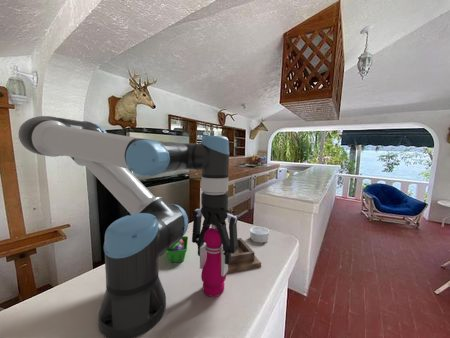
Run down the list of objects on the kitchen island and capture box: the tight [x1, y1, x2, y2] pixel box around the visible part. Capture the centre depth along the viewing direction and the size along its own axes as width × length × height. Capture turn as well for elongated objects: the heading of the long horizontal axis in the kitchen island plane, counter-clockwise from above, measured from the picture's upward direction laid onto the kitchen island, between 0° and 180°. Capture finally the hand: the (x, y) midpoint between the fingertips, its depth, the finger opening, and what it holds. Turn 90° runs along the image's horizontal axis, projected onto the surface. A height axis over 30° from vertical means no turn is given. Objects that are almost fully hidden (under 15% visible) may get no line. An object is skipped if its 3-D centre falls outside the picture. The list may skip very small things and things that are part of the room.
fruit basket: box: [165, 235, 189, 263], centre depth 75 cm, size 11×9×11 cm
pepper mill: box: [200, 224, 227, 297], centre depth 57 cm, size 7×7×20 cm
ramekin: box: [249, 226, 270, 244], centre depth 91 cm, size 9×9×4 cm
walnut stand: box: [221, 237, 262, 274], centre depth 74 cm, size 16×16×4 cm
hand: (213, 269), depth 57 cm, fingers closed on pepper mill, 6 cm apart
